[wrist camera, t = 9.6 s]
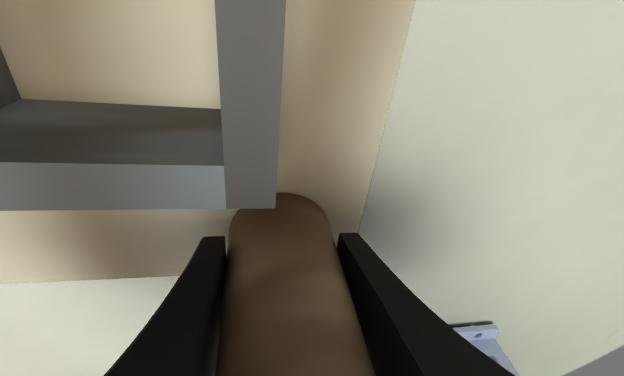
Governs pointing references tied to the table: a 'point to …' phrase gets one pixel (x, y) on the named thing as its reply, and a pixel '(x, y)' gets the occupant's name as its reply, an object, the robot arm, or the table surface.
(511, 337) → the table surface
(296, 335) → the peg
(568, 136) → the table surface
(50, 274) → the dock
